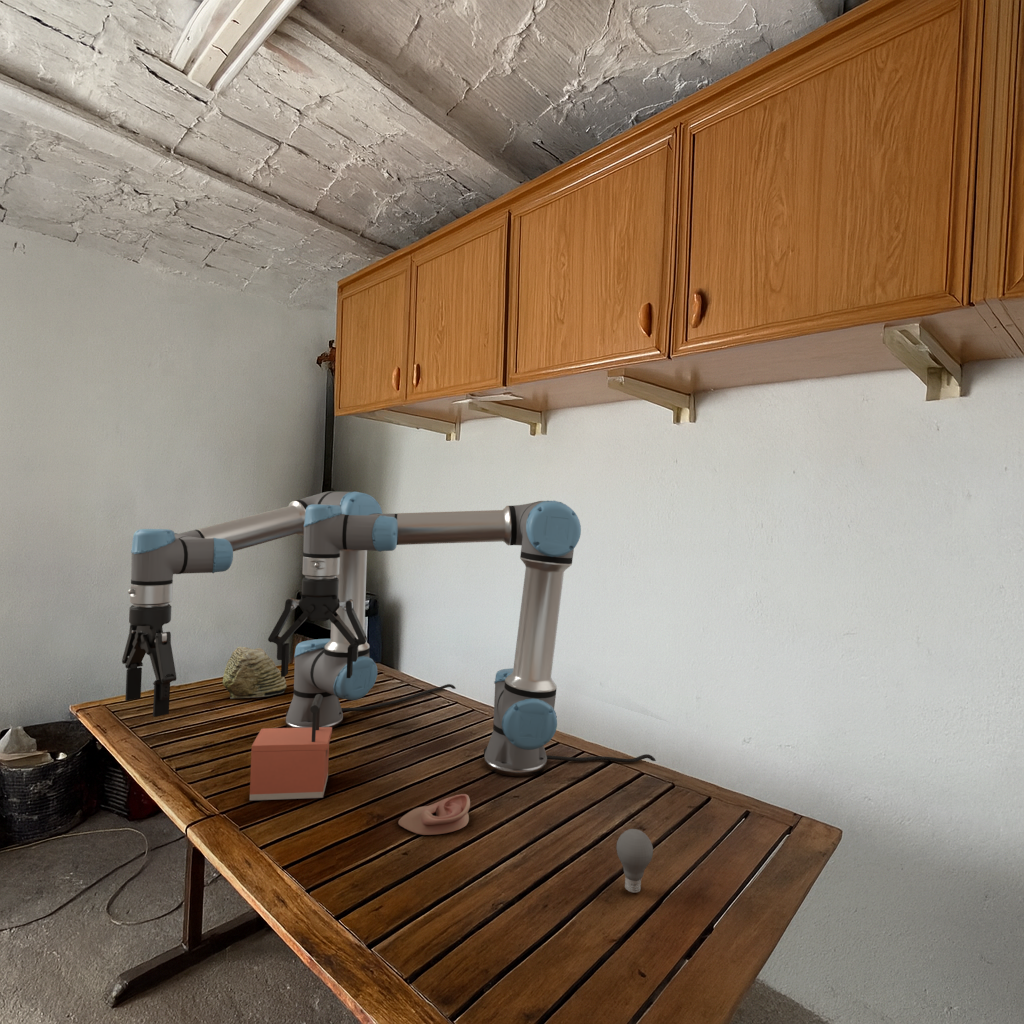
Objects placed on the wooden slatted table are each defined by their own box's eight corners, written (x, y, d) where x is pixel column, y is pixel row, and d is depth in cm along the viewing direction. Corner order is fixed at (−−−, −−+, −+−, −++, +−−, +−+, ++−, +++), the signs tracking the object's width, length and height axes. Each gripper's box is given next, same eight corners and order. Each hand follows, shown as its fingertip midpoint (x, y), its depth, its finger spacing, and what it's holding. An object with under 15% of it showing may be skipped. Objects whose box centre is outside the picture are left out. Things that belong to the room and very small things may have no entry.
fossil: (218, 695, 195) (220, 647, 195) (278, 685, 208) (279, 640, 207) (228, 703, 189) (230, 653, 188) (289, 692, 201) (290, 645, 201)
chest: (327, 777, 143) (329, 732, 143) (322, 797, 133) (324, 750, 133) (259, 779, 140) (261, 734, 140) (249, 800, 131) (251, 752, 131)
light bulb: (610, 879, 108) (613, 822, 108) (644, 879, 109) (647, 822, 109) (619, 902, 102) (622, 840, 102) (655, 901, 103) (658, 840, 103)
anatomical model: (392, 810, 121) (414, 784, 132) (391, 830, 121) (413, 803, 132) (459, 820, 118) (475, 792, 130) (458, 841, 118) (474, 812, 130)
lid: (332, 732, 143) (333, 692, 143) (327, 749, 133) (329, 706, 133) (261, 734, 140) (263, 693, 140) (251, 751, 131) (253, 707, 130)
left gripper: (107, 597, 135) (103, 696, 135) (157, 615, 119) (153, 726, 120) (145, 594, 141) (141, 689, 141) (198, 611, 125) (193, 717, 126)
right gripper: (254, 576, 130) (251, 679, 131) (377, 580, 132) (373, 682, 133) (266, 572, 138) (262, 669, 138) (382, 576, 140) (378, 672, 140)
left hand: (146, 707), depth 130 cm, fingers open, 13 cm apart
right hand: (317, 675), depth 135 cm, fingers open, 13 cm apart
